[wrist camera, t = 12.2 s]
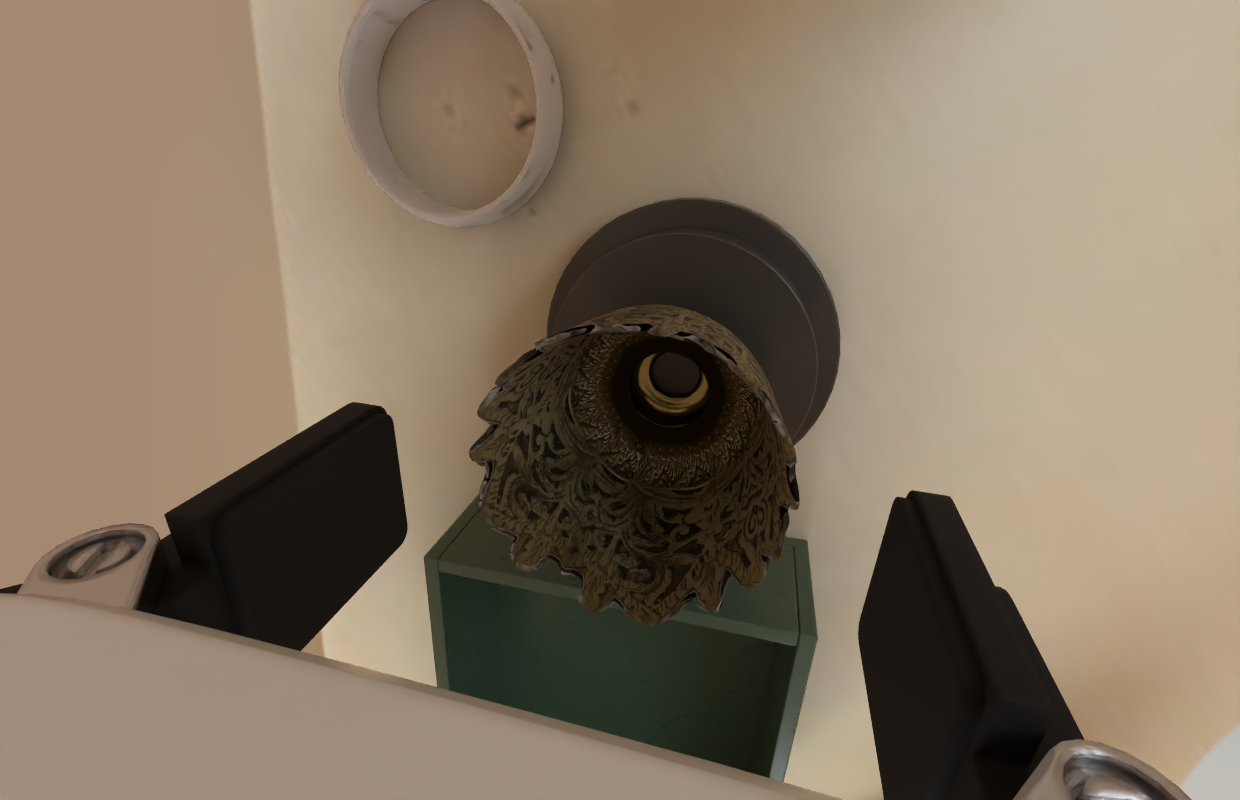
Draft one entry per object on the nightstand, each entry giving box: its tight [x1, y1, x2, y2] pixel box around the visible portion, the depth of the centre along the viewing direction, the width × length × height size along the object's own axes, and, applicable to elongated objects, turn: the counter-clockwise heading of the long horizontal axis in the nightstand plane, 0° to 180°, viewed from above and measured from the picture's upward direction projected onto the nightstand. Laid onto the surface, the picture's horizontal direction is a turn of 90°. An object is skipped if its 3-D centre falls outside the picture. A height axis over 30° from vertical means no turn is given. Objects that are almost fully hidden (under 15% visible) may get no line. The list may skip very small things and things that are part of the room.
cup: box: [469, 305, 799, 626], centre depth 16 cm, size 8×7×8 cm
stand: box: [547, 198, 840, 445], centre depth 21 cm, size 11×11×3 cm
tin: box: [424, 495, 818, 782], centre depth 26 cm, size 15×15×6 cm
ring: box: [339, 0, 563, 227], centre depth 20 cm, size 8×8×2 cm
